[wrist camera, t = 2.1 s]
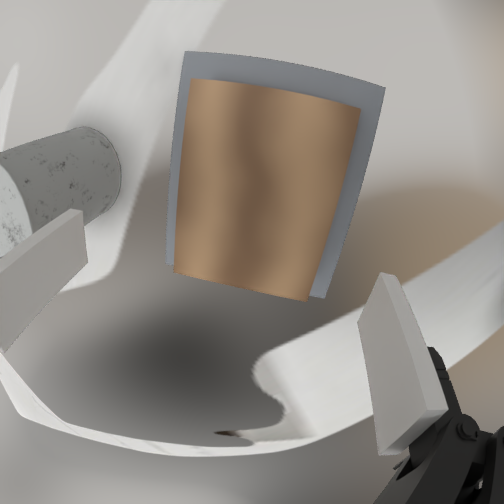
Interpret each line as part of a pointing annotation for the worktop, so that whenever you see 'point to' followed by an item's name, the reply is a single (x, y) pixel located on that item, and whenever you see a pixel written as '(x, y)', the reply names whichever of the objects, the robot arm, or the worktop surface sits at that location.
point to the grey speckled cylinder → (55, 182)
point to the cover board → (259, 185)
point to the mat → (299, 82)
